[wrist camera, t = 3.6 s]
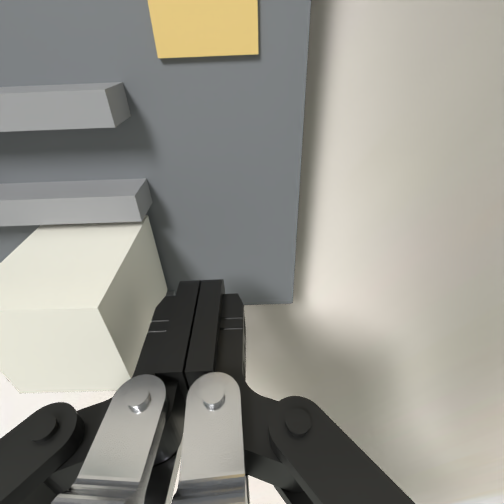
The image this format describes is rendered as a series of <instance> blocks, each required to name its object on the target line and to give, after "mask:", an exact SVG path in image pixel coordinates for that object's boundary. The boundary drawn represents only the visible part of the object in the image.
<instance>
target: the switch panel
mask: <svg viewBox="0 0 504 504" xmlns="http://www.w3.org/2000/svg"><path fill="white" fill-rule="evenodd" d="M310 10H311V0H0V263H1V262H2V261H3V260H4V259H5V258H6V257H7V256H8V255H10V254H11V253H12V252H13V251H14V250H15V249H16V248H17V247H18V246H19V245H20V244H21V243H22V242H23V241H24V240H25V239H27V238H28V237H29V236H30V235H31V234H32V233H33V232H34V231H35V230H36V229H37V228H38V227H39V226H40V225H54V224H83V223H112V222H141V221H142V220H143V219H144V217H145V215H148V217H149V221H150V225H151V229H152V233H153V236H154V240H155V244H156V248H157V251H158V255H159V259H160V263H161V266H162V270H163V274H164V278H165V281H166V285H167V289H168V290H167V293H166V296H176V292H177V289H178V285H179V282H180V281H191V280H215V279H223V280H224V287H225V294H235V293H238V295H239V297H240V298H241V300H242V302H243V304H244V305H259V304H291V303H293V287H294V271H295V254H296V238H297V222H298V205H299V189H300V173H301V157H302V140H303V124H304V108H305V91H306V75H307V59H308V43H309V26H310Z"/></svg>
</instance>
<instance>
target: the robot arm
mask: <svg viewBox="0 0 504 504" xmlns="http://www.w3.org/2000/svg"><path fill="white" fill-rule="evenodd" d="M245 378H246V328H245V316H244V304H243V302H242V300H241V298H240V297H239V295H238V293H235V294H225V287H224V280H223V279H215V280H191V281H180V282H179V285H178V289H177V292H176V296H165V297H164V298H163V299H162V301H161V302H160V303H159V304H158V305H157V306H156V308H155V311H154V314H153V317H152V322H151V323H150V326H149V329H148V333H147V335H146V338H145V341H144V344H143V347H142V350H141V353H140V356H139V359H138V362H137V365H136V368H135V371H134V374H133V376H132V378H131V379H129V380H128V381H126V382H125V383H124V384H123V385H121V387H120V388H119V389H118V390H117V391H116V393H115V394H114V396H113V397H112V398H110V399H109V400H106V401H104V402H101V403H98V404H95V405H92V406H90V407H87V408H84V409H81V410H78V411H76V410H75V409H74V407H72V406H71V405H70V404H68V403H64V402H58V403H53V404H49V405H47V406H44V407H42V408H41V409H39V410H37V411H36V412H34V413H33V414H32V415H30V416H29V417H28V418H27V419H25V420H24V421H23V422H21V423H20V424H19V425H18V426H16V427H15V428H14V429H12V430H11V431H10V432H9V433H7V434H6V435H5V436H3V437H2V438H1V439H0V504H250V496H249V480H248V475H250V476H253V477H255V478H257V479H260V480H262V481H265V482H267V483H270V484H272V485H274V487H275V488H276V490H277V491H278V493H279V494H280V495H281V497H282V498H283V500H284V501H285V502H286V504H415V503H414V502H413V501H412V500H411V499H410V498H409V497H408V496H407V495H406V494H405V493H404V492H403V491H402V490H401V489H400V488H399V487H398V486H397V485H396V484H395V483H394V482H393V481H392V480H391V479H390V478H389V477H388V476H387V475H386V474H385V473H384V472H383V471H382V470H381V469H380V468H379V467H378V466H377V465H376V464H375V463H374V462H373V461H372V460H371V459H370V458H369V457H368V456H367V455H366V454H365V453H364V452H363V451H362V450H361V449H360V448H359V447H358V446H357V445H356V444H355V443H354V442H353V441H352V440H351V439H350V438H349V437H348V436H347V435H346V434H345V433H344V432H343V431H342V430H341V429H340V428H339V427H338V426H337V425H336V424H335V423H334V422H333V421H332V420H331V419H330V418H329V417H328V416H327V415H326V414H325V413H324V412H323V411H322V410H321V409H320V408H319V407H318V406H317V405H316V404H315V403H314V402H312V401H311V400H309V399H307V398H304V397H300V396H290V397H286V398H284V399H282V400H280V401H276V400H273V399H270V398H266V397H263V396H261V395H259V394H257V393H255V392H254V391H253V390H252V389H251V388H250V387H249V386H248V385H247V383H246V382H245ZM180 460H181V464H180ZM179 464H180V475H179V484H178V489H177V492H176V494H175V495H174V497H173V499H172V496H173V491H174V487H175V482H176V478H177V473H178V469H179ZM171 500H172V503H171Z"/></svg>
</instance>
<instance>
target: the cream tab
mask: <svg viewBox="0 0 504 504" xmlns="http://www.w3.org/2000/svg"><path fill="white" fill-rule="evenodd" d="M167 290H168V289H167V285H166V281H165V278H164V274H163V270H162V266H161V263H160V259H159V255H158V251H157V248H156V244H155V240H154V236H153V233H152V229H151V225H150V221H149V217H148V215H145V217H144V219H143V220H142V221H141V222H112V223H83V224H54V225H40V226H39V227H38V228H37V229H36V230H35V231H34V232H33V233H32V234H31V235H30V236H29V237H28V238H27V239H25V240H24V241H23V242H22V243H21V244H20V245H19V246H18V247H17V248H16V249H15V250H14V251H13V252H12V253H11V254H10V255H8V256H7V257H6V258H5V259H4V260H3V261H2V262H1V263H0V372H1V373H2V374H3V375H4V376H5V377H6V378H7V379H8V381H9V382H10V383H11V384H12V385H13V386H14V387H15V388H16V389H17V391H18V392H19V393H53V392H89V391H117V390H118V389H119V388H120V387H121V385H123V384H124V383H125V382H126V381H128V380H129V379H131V378H132V376H133V374H134V371H135V368H136V365H137V362H138V359H139V356H140V353H141V350H142V347H143V344H144V341H145V338H146V335H147V333H148V329H149V326H150V323H151V322H152V317H153V314H154V311H155V308H156V306H157V305H158V304H159V303H160V302H161V301H162V299H163V298H164V297H165V296H166V293H167Z"/></svg>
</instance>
